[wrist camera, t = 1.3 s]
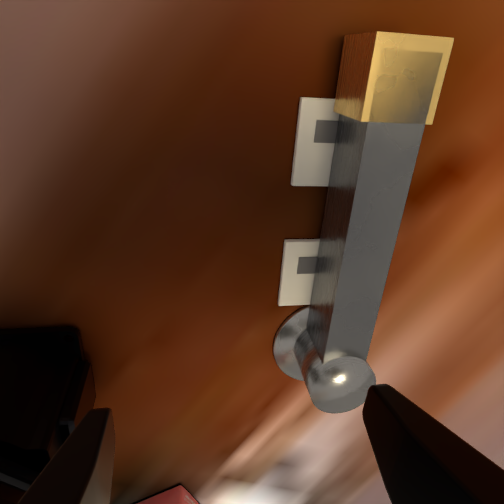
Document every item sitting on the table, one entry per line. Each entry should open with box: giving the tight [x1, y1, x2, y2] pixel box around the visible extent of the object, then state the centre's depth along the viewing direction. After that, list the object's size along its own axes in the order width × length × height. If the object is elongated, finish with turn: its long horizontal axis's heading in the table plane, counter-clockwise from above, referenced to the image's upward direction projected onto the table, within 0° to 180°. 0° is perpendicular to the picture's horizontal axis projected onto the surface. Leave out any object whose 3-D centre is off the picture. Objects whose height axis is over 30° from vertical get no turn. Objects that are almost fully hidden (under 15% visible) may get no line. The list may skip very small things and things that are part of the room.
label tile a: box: [278, 239, 320, 306], centre depth 22 cm, size 6×4×1 cm, turn 86°
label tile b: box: [291, 97, 339, 186], centre depth 19 cm, size 6×4×1 cm, turn 86°
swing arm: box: [294, 31, 454, 413], centre depth 19 cm, size 18×4×4 cm, turn 176°
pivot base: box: [273, 305, 310, 381], centre depth 24 cm, size 6×6×1 cm
